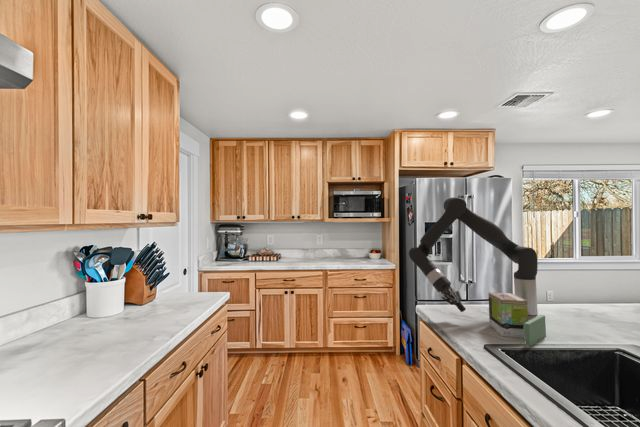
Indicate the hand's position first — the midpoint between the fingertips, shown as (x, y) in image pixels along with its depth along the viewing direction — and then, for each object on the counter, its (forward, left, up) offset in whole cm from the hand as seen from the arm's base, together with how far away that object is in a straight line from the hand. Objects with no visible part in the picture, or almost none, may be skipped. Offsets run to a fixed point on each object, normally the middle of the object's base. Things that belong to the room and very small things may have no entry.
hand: (463, 310), depth 140 cm
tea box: (-3, +17, -6) cm, 18 cm away
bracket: (0, +28, -6) cm, 29 cm away
